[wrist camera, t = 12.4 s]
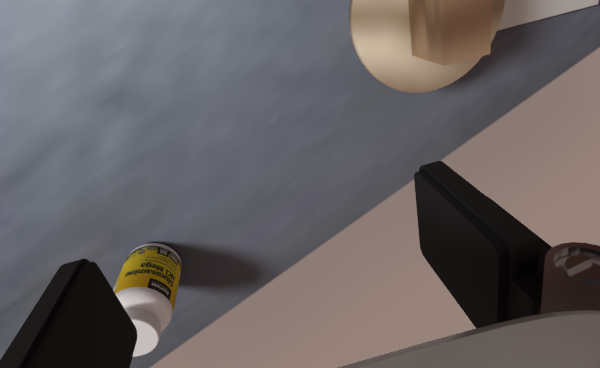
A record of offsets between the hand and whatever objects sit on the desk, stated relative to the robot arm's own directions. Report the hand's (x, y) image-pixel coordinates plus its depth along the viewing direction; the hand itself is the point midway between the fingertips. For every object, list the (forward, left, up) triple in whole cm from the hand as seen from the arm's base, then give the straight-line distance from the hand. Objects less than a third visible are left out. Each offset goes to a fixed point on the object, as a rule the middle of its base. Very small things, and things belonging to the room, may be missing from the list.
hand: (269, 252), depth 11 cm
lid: (-2, +16, -23) cm, 28 cm away
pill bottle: (+18, -16, -28) cm, 37 cm away
